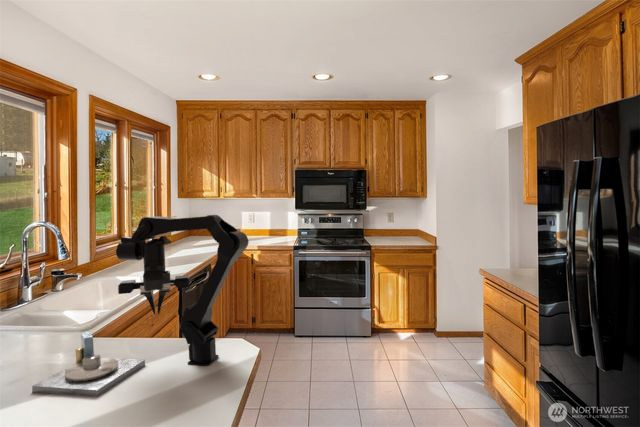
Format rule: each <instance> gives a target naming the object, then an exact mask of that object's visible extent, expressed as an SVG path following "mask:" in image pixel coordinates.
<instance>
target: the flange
mask: <svg viewBox="0 0 640 427" xmlns="http://www.w3.org/2000/svg"><path fill="white" fill-rule="evenodd" d="M80 339H81V342H80V343H81V346H80V347H81V348H82V351H83V362H81V363H78V364H76V363H75V365H74V364H72V365H73V366H72V365H70V366H71V367H70V366H69V367H70V368H68V367H67V368H68V369H67V370H66V371H65V378H66V379H67V380H69V381H86V380H92V379H96V378H99V377H102V376H105V375H108V374H110V373H112V372H113V371H115V370H116V369H117V368H118V361H117V360H116V359H113V358H114V357H101V355H100V354H95V353H94V352H95V350H94V349H95V348H94V336H93V335H92V334H91V332H90V331H87V332H83V333H80Z"/></svg>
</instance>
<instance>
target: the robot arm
mask: <svg viewBox="0 0 640 427" xmlns="http://www.w3.org/2000/svg"><path fill="white" fill-rule="evenodd" d="M198 230H206V231H208V232H209V234H210V236H211V237H212V238H213V239H214V241H215V242H216V243H218V247H217V249H216V250H217V254H216V255H217V256H216V257H217V258H216V262H215V264H214V266H213V268H212V270H211V272H210V274H209V276H208V278H207V281H206V282H205V284H204V286H203V289H202V291H201V293H200V295H199V297H198V299H197V302H195V303H193V304H190V305H189V306H187V307H186V308H185V309H184V313H183V315H182V316H181V318H180V319H179V321H180V325H179V326H180V327H179V328H180V330H181V332H182V334H183V335H184V336H183V337H184V338H185V340H186V343H187V345H188V360H189V361H188V362H187V365H189V366H191V365H192V366H193V365H194V366H210V365H212V363H214V362H215V361H216V360H217V359H218V358H219V357H220V356H219V354H217V351H216V349H217V348H216V337H215V336H217V334H218V331H219V327H218V326H217V325H216V324H215V323H214V321H212V317H213V306H214V304H215V303H216V302H215V301H217V299H218V296H219V294H220V292H221V290H222V288H223V285H224V284H225V281H226V279H227V276H228V275H229V273H230V271H231V268H232V267H233V265H234V263H235V262H236V261H237V260H238V259H240V257H241V255H242V254H243V253H244V252H245V250H246V249H247V248H248V246H249V238H248V236H247V234H246V233H245V232H244V231H240V230H238V229H237V228H236V227H235V226H233V225H232V224H230V223H228V222H226V221H225V220H224V219H223V218H222V217H221V216H219V215H218V214H210V215H209V214H207V215H204V216H193V217H181V218H180V217H179V218H173V217H167V216H158V215H157V216H146V217H142V218H141V219H140V221H139V223H138V227H137V228H136V229H135V231H134V232H133V235H132V237H131V236H122V237H120V241H119V242H118V244H117V246H116V249H115V255H116V257H117V258H118V260H120V261H141V260H143V275H142V281H139V282H137V281H136V280H137V279H126V280H122V281H121V282H120V283H119V285H118V290H117V291H118V293H117V294H118V295H123V294H124V295H125V294H131V293H132V292H133V291H134V290H139V291H140V293H139V295H141V296H144V297H145V298H146V300H147V301H148V304H149V306H150V309H151V310H152V313H153V315H156V314H157V315H158V314H160V312H161V310H162V305H163V303H164V302H163V301H164V298H165V297H166V294H167V293H170V292H171V287H173V286H174V287H176V288H177V289H186V288H187V289H188V288H190V287H191V286H190V285H191V284H190V276H189V275H188V274H186V275H176V276H174V279H172V278H171V271H170V270H166V254H165V253H166V251H165V245H170V244H172V241H171V239H169V238H168V237H167V236H166V235H167V234H171V233H174V232H183V231H185V232H186V231H198ZM157 237H159V238H157ZM146 240H148V241H146ZM155 290H156V291H158V299H157V307H156V302H155V297H154V291H155ZM156 308H157V310H156Z"/></svg>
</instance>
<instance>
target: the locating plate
mask: <svg viewBox="0 0 640 427" xmlns="http://www.w3.org/2000/svg"><path fill="white" fill-rule="evenodd" d="M112 358H113V359H116V360H117V361H118V368H117V369H116V370H115V371H113V372H112V373H110V374H108V375H105V376H102V377H99V378H96V379H92V380H86V381H69V380H67V379H66V378H65V371H66V370H67V369H68V368H70V367H71V366H73V365H75V364H78V363H81V362H83V351H82V347H77V348H76V349H75V362H76V363H75V364H71V365H70V366H68V367H66V368H64V369H63V370H60V371H58V372H56V373H55V374H52V375H51V376H49V377H47V378H45V379H43V380H41V381H39V382H37V383H35V384H33V385H31V389H32V390H31V391H32V393H40V394H52V395H53V394H55V395H57V394H58V395H67V396H68V395H69V396H82V397H83V396H84V397H95V398H96V397H99V396H100V395H102V394H104V393H105V392H106V391H108V390H110V389H111V388H112V387H114V386H116V385H117V384H118V383H120V382H122V381H123V380H125V379H127V377H129V376H131V375H133V374H134V373H135V372H137V371H139V370H140V369H141V368H143V367H144V366H146V359H137V358H120V357H119V358H115V357H112Z"/></svg>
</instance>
